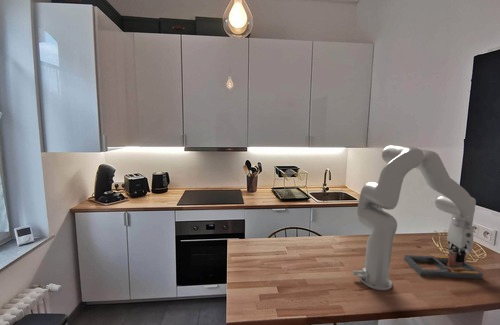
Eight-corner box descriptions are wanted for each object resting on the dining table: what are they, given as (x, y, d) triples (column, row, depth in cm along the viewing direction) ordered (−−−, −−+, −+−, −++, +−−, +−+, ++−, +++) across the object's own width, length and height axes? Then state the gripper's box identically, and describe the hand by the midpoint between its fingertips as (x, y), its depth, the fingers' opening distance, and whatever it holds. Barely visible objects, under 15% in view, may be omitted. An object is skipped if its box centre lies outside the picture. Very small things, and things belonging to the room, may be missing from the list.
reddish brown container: (452, 268, 119) (455, 248, 117) (445, 264, 122) (447, 245, 120) (465, 266, 121) (468, 246, 119) (457, 262, 124) (460, 243, 122)
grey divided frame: (420, 276, 116) (421, 270, 116) (404, 259, 130) (404, 254, 129) (482, 279, 114) (483, 273, 114) (459, 262, 128) (459, 257, 128)
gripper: (485, 230, 109) (478, 269, 112) (456, 216, 126) (451, 250, 129) (467, 229, 110) (460, 269, 113) (440, 215, 126) (436, 250, 129)
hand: (456, 259), depth 121 cm, fingers closed on reddish brown container, 4 cm apart
